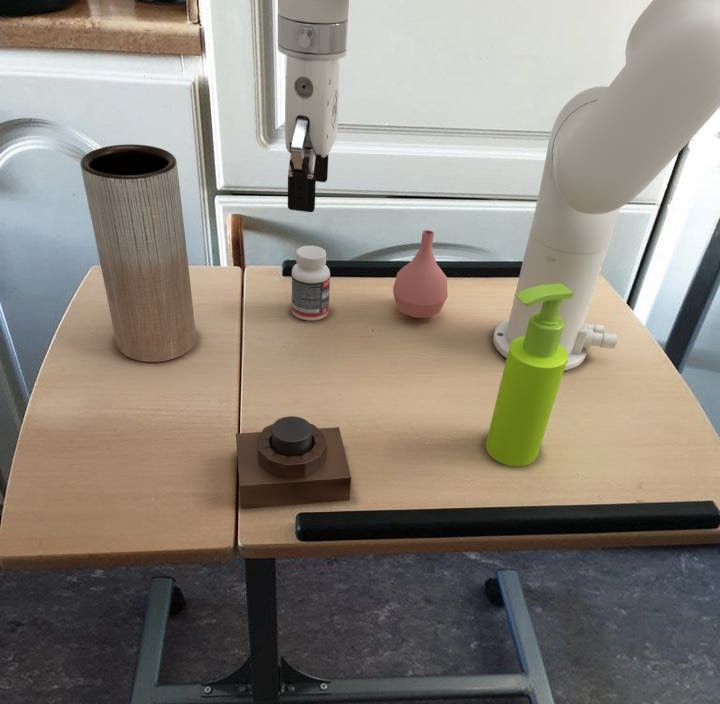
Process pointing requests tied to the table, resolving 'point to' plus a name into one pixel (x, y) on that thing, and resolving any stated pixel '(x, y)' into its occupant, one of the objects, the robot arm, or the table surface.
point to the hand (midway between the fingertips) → (308, 194)
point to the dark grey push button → (291, 436)
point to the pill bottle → (310, 284)
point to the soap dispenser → (529, 380)
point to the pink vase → (421, 283)
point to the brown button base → (292, 470)
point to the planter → (141, 248)
